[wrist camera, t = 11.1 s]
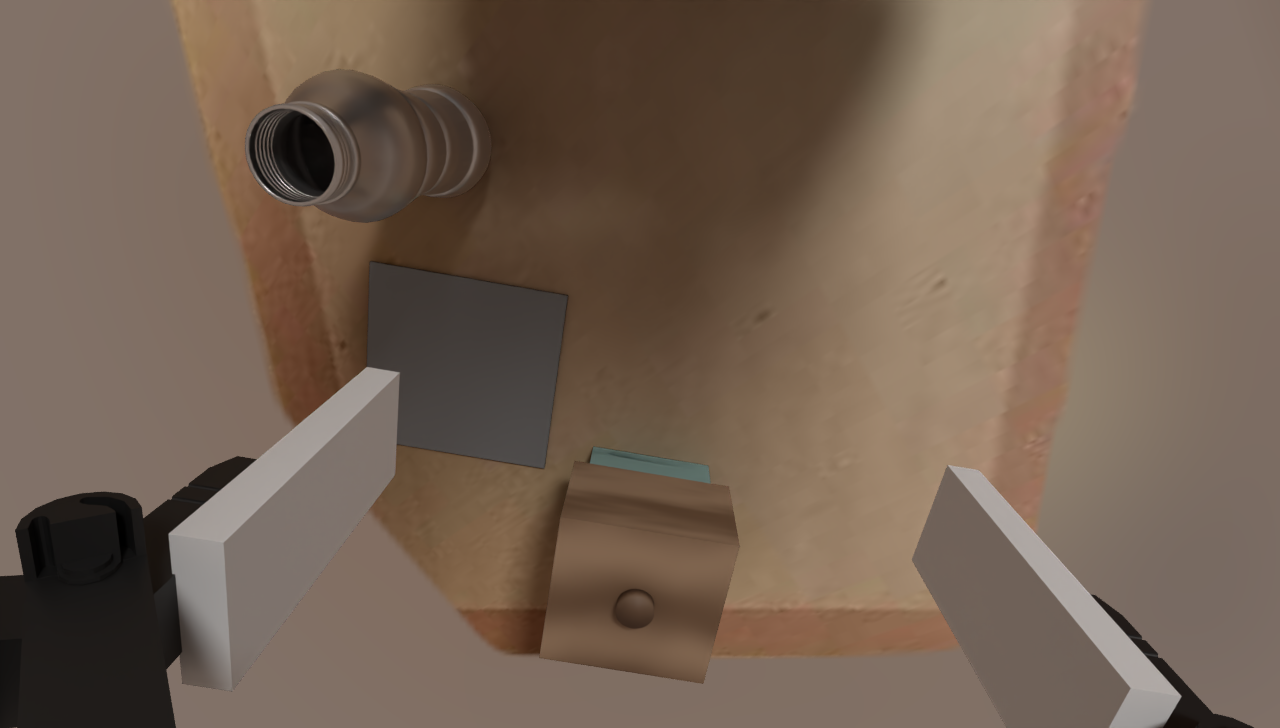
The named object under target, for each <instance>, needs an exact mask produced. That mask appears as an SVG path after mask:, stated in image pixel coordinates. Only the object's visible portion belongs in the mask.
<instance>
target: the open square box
mask: <svg viewBox="0 0 1280 728" xmlns="http://www.w3.org/2000/svg"><path fill="white" fill-rule="evenodd" d="M590 464H596V465H602V466H608V467H614V468H620V469H626V470H632V471H638V472H644V473H650V474H656V475H662V476H668V477H674V478H680V479H686V480H692V481H698V482H704V483H710V475H709V467H708V466H707V465H701V464H695V463H689V462H683V461H677V460H671V459H665V458H659V457H653V456H647V455H641V454H635V453H629V452H623V451H617V450H611V449H605V448H599V447H593V451H592V455H591V460H590ZM710 484H711V483H710Z"/></svg>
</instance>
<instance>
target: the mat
mask: <svg viewBox="0 0 1280 728" xmlns="http://www.w3.org/2000/svg"><path fill="white" fill-rule="evenodd" d="M567 298H568V295H562V294H557V293H551V292H545V291H539V290H534V289H528V288H522V287H516V286H511V285H505V284H499V283H493V282H488V281H482V280H476V279H470V278H464V277H459V276H453V275H447V274H441V273H436V272H430V271H424V270H418V269H413V268H407V267H401V266H395V265H390V264H384V263H378V262H372V261H370V270H369V305H368V341H367V367H370V368H376V369H382V370H388V371H394V372H400V379H399V400H398V422H397V443H396V444H399V445H405V446H411V447H417V448H423V449H429V450H435V451H441V452H447V453H453V454H459V455H465V456H472V457H478V458H484V459H490V460H496V461H502V462H508V463H514V464H520V465H526V466H532V467H538V468H544V467H545V460H546V453H547V445H548V438H549V431H550V423H551V416H552V409H553V401H554V394H555V387H556V379H557V372H558V365H559V357H560V350H561V343H562V335H563V328H564V320H565V313H566V306H567Z"/></svg>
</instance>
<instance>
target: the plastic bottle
mask: <svg viewBox="0 0 1280 728" xmlns="http://www.w3.org/2000/svg"><path fill="white" fill-rule="evenodd" d="M245 153H246V159H247V162H248V165H249V168H250V170H251V172H252V174H253V176H254V178H255V179H256V181H257V182H258V184H259V185H260V186H261V187H262V188H263V189H264V190H265V191H266V192H267V193H268V194H269V195H271V196H272V197H274V198H275V199H277V200H279V201H281V202H283V203H285V204H289V205H293V206H311V205H314V206H315V207H317V208H318V209H320V210H321V211H324V212H326V213H328V214H330V215H332V216H335V217H338V218H341V219H344V220H348V221H352V222H363V223H368V222H374V221H380V220H382V219H385V218H387V217H390V216H392V215H394V214H396V213H397V212H399V211H400V210H402V209H403V208H405V207H406V206H407V205H408V204H410V203H411V202H412V201H413V200H414V199H415V198H417V197H419V196H421V195H425V196H429V197H440V198H448V197H455V196H458V195H460V194H463V193H465V192H467V191H468V190H470V189H471V188H473V186H474V185H475V184H476V183H477V182H478V181H479V180H480V179H481V177H482V176H483V174H484V172H485V171H486V169H487V166H488V164H489V161H490V156H491V136H490V132H489V128H488V126H487V123H486V120H485V119H484V117H483V115H482V114H481V112H480V111H479V109H478V108H477V107H476V106H475V105H474V104H473V103H472V102H471V101H470V100H469V99H468V98H467V97H465V96H464V95H463V94H461V93H460V92H458V91H456V90H454V89H452V88H451V87H447V86H443V85H439V84H426V85H420V86H416V87H413V88H410V89H408V90H405V91H401V90H398V89H396V88H394V87H392V86H391V85H389V84H387V83H385V82H383V81H381V80H380V79H378V78H376V77H373V76H370V75H367V74H364V73H361V72H358V71H354V70H344V69H336V70H330V71H324V72H322V73H320V74H317V75H315V76H313V77H311V78H309V79H308V80H306V81H305V82H303V83H302V84H301V85H300V86H298V87H297V88H296V89H295V90H294V91H293V92H292V93H291V94H290V96H289V97H288V98H287V100H286V102H285V104H278V105H273V106H271V107H268V108H266V109H264V110H262V111H261V112H260V113H258V114H257V115H256V116H255V118H254V119H253V120H252V121H251V123H250V125H249V127H248V130H247V133H246V138H245Z"/></svg>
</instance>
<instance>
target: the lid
mask: <svg viewBox="0 0 1280 728" xmlns="http://www.w3.org/2000/svg"><path fill="white" fill-rule="evenodd" d="M739 547H740V545H739V540H738V534H737V529H736V523H735V517H734V512H733V506H732V501H731V495H730V490H729V487H728V486H722V485H716V484H710V483H704V482H698V481H692V480H686V479H680V478H674V477H668V476H662V475H656V474H650V473H644V472H638V471H632V470H626V469H620V468H614V467H608V466H602V465H596V464H590V463H584V462H578V461H575V462H574V466H573V470H572V474H571V478H570V482H569V486H568V489H567V493H566V497H565V501H564V505H563V509H562V513H561V517H560V523H559V530H558V536H557V543H556V550H555V556H554V563H553V570H552V576H551V583H550V590H549V596H548V603H547V610H546V616H545V623H544V630H543V636H542V643H541V650H540V656H539V658H544V659H550V660H556V661H563V662H570V663H575V664H583V665H588V666H595V667H601V668H608V669H614V670H620V671H626V672H633V673H639V674H645V675H652V676H658V677H664V678H671V679H677V680H684V681H690V682H696V683H702V684H703V683H704V679H705V675H706V671H707V668H708V664H709V660H710V656H711V653H712V649H713V645H714V641H715V638H716V634H717V630H718V626H719V623H720V619H721V615H722V611H723V607H724V604H725V600H726V596H727V592H728V589H729V585H730V581H731V577H732V574H733V570H734V566H735V562H736V558H737V555H738V551H739Z"/></svg>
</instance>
